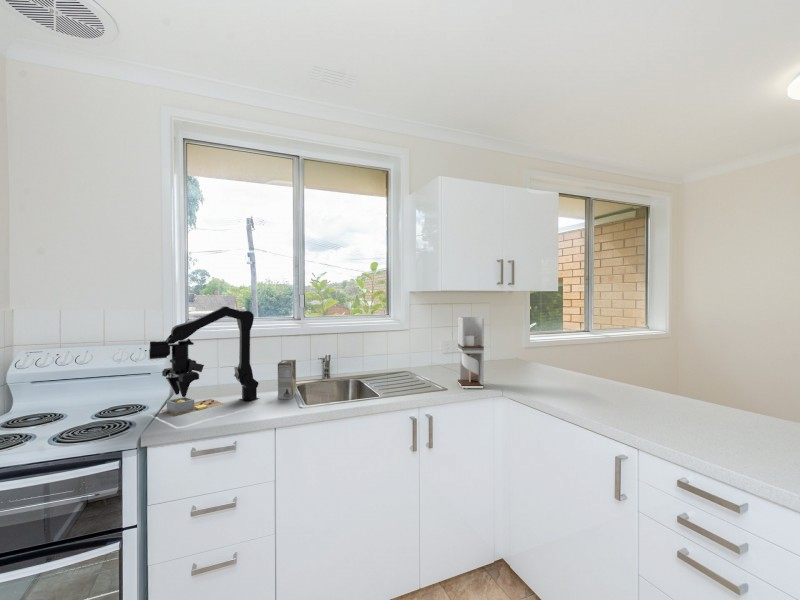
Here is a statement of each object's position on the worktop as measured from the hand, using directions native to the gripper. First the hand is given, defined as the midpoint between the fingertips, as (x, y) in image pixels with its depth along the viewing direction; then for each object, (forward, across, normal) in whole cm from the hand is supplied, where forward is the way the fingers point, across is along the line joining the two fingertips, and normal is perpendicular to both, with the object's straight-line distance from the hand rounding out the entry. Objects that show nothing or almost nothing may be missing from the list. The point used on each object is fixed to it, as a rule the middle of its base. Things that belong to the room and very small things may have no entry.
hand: (180, 395), depth 148 cm
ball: (+6, 0, 0) cm, 6 cm away
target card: (+6, -4, -6) cm, 10 cm away
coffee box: (+7, -16, -39) cm, 43 cm away
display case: (+7, -76, -106) cm, 131 cm away
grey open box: (+6, 0, 0) cm, 6 cm away
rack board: (+6, 0, -5) cm, 8 cm away
